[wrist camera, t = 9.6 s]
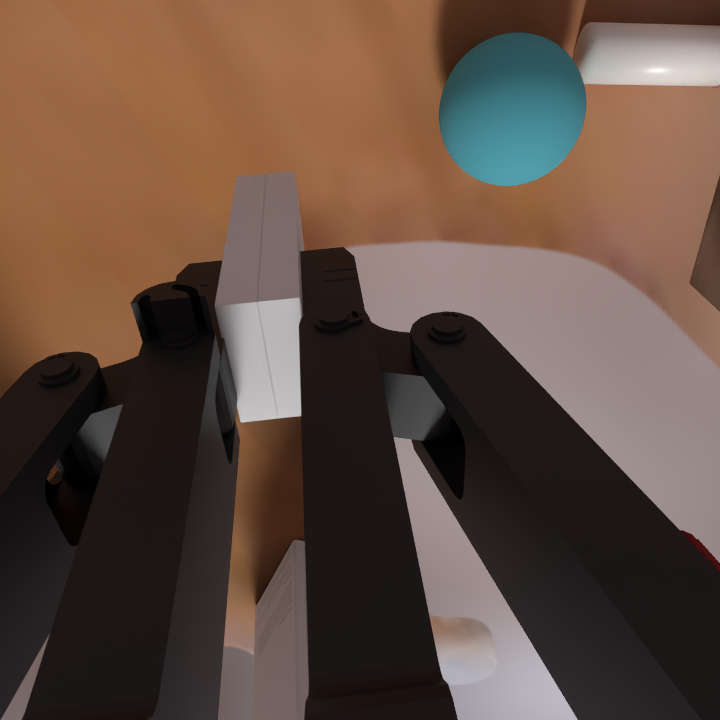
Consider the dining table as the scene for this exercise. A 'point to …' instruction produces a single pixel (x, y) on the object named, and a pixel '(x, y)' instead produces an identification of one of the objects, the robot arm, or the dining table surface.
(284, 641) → the supplement box
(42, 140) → the dining table surface
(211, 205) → the dining table surface
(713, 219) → the stopper wall
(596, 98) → the dining table surface
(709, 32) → the pin
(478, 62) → the ball
